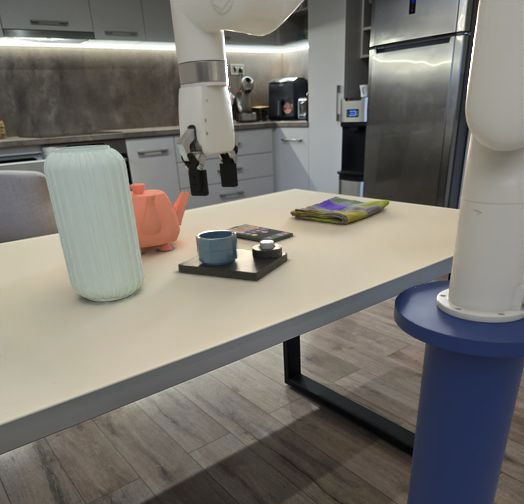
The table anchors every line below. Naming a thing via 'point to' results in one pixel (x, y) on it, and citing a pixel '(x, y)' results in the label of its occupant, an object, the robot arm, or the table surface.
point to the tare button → (266, 244)
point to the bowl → (217, 247)
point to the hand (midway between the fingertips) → (215, 191)
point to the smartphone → (259, 233)
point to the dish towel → (340, 210)
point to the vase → (95, 220)
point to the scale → (240, 264)
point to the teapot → (157, 216)
